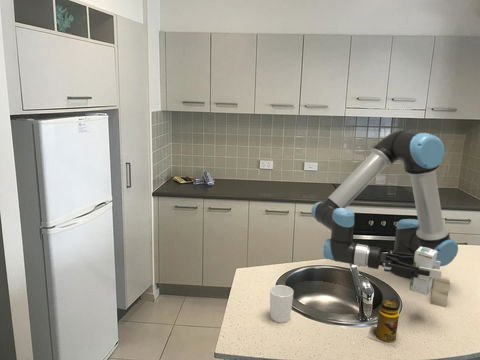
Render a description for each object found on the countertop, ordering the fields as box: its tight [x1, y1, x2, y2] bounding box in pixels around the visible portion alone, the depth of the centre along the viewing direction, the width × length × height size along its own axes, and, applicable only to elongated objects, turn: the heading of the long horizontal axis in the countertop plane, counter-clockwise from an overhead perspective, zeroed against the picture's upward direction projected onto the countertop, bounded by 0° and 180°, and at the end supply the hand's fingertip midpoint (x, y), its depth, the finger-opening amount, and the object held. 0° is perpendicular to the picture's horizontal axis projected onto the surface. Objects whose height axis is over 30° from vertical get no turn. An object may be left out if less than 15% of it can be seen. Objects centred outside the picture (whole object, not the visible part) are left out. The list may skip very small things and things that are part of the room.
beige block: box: [429, 274, 451, 308], centre depth 146 cm, size 5×5×10 cm
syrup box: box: [408, 247, 437, 296], centre depth 132 cm, size 6×6×14 cm
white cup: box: [269, 284, 294, 324], centre depth 133 cm, size 8×8×10 cm
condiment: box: [367, 299, 400, 347], centre depth 125 cm, size 7×8×12 cm
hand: (440, 270), depth 130 cm, fingers closed on syrup box, 7 cm apart
